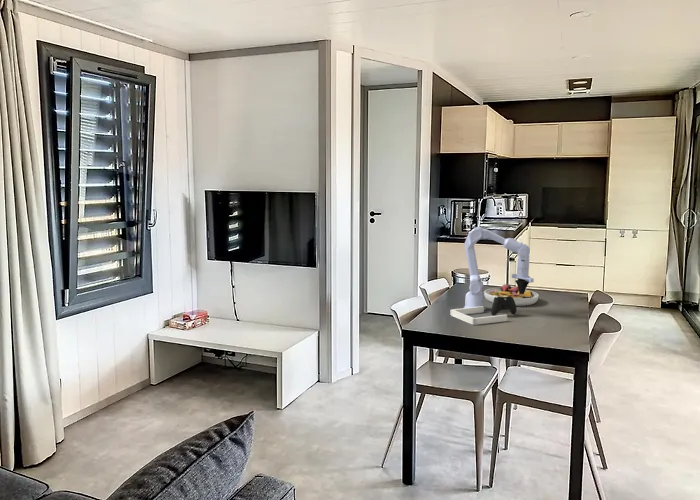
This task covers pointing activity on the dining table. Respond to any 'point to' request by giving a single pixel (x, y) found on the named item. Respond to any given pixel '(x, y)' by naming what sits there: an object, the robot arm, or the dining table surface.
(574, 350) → the dining table surface
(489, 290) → the bowl
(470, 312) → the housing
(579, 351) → the dining table surface
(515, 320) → the dining table surface
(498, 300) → the gaming controller
